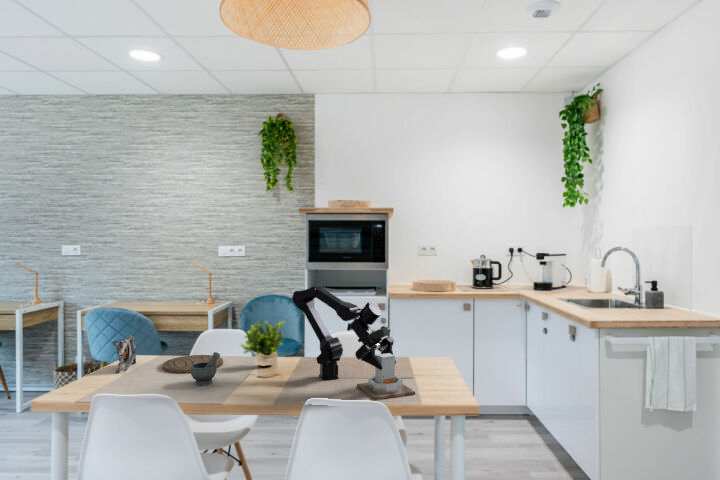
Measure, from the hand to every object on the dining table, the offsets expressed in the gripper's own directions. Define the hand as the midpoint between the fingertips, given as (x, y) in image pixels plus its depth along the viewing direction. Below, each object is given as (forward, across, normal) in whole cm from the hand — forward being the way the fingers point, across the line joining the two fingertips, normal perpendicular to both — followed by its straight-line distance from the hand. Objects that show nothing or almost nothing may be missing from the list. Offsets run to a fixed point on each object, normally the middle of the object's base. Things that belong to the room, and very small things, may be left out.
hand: (388, 366), depth 166 cm
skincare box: (+5, 0, +7) cm, 8 cm away
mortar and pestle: (-37, -34, +50) cm, 71 cm away
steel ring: (+5, 0, +7) cm, 9 cm away
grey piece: (-68, -42, +82) cm, 115 cm away
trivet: (-55, -21, +69) cm, 91 cm away
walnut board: (+5, 0, +7) cm, 9 cm away
